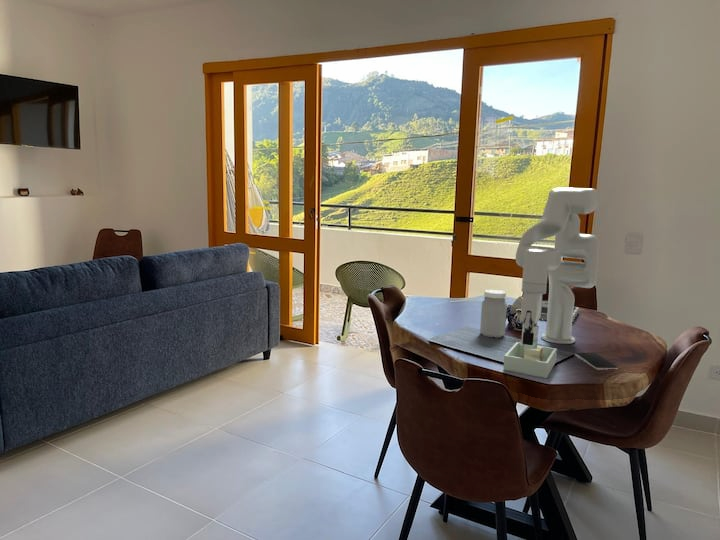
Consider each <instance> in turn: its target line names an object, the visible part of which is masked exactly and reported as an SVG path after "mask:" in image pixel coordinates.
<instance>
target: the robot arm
mask: <svg viewBox="0 0 720 540" xmlns="http://www.w3.org/2000/svg"><path fill="white" fill-rule="evenodd" d="M599 201H600V195H599V192H598V190H597V189H596V188H590V187H589V188H588V187H587V188H586V187H555V188H552V189H551V190H550V191H549V192H548V196H547V200H546V202H545V206H544V209H543V213H542V215H541V219H540V221H538V222H537V223H535V224H533V225H532V226H530V227H529V228H528V229H527V230H526V231H524V233H523V234H522V236H521V237H520V240H519V243H518V246H517V248H516V252H515V262H516V265H518V266H519V267H521V268H522V279H521V282H522V283H521V293H523V296H522V300H521V307H520V308H521V315H520V317H519V322H520V323H522V324H524V332H523V342H522V343H523V344H526V345H533V338H534V333H533V328H534V325H537V326H538V322H539V321H540V320H539V319H540V316H541V308H542V301H543V295H545V294H547V284H549V285H548V299H547V301H548V311H547V321H546V322H545V332H543V333H541V335H540V338H541V339H542V340H543V341H546V342H549V343H553V344H558V345H568V344H569V345H570V344H573V343H575V342H576V338H575V337H574V336H573V335H572V330H573V323H572V320H573V310H574V307H575V294H574V292H573V290H572V289H571V288H570V287H574V288H575V287H576V288H582V289H583V288H585V289H591V288H593V287H594V286H595V285H596V283H597V278H598V270H599V260H600V247H601V242H600V239H599V238H598V236H596V235H594V234H589V233H588V234H587V233H581V231H580V230H581V227H580V226H581V218H580V217H579V215H588V214H591V213H593V212H594V211H596V209H597V207H598V206H599V203H600V202H599ZM551 237H555V238H554V247H548V246H539V245H538V246H537V245H533V244H535V243H537V242H539V241H541V240H544V239H548V238H551ZM562 258H567V259H577V260H578V259H579V260H583V261H584V262H581V261H571V260H563V259H562ZM530 325H532V326H530Z"/></svg>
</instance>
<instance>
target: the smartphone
mask: <svg viewBox="0 0 720 540" xmlns="http://www.w3.org/2000/svg"><path fill="white" fill-rule="evenodd" d="M574 356H575V357H577V358H578V359H579V360H581V361H583V362H584V363H586V364H587V365H589V366H590V367H592V368H594V369H595V370H597V371H598V370H599V371H601V370H604V369H605V370H606V371H607V370H608V369H615V370H619V367H618V366H617V365H615V364H614V363H612V362H611V361H609V360H607V359H605V358H604V357H602V356H600V355H599V354H597V353H595V352H575V353H574ZM605 370H604V371H605Z"/></svg>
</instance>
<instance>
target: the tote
mask: <svg viewBox="0 0 720 540" xmlns="http://www.w3.org/2000/svg"><path fill="white" fill-rule="evenodd" d="M537 346H539V347H543V352H542V361H537V360H531V359H525V358H524V349H525V348H523V347H521V341H519V342H518V341H517V342H515V343H514V344H513V346H512V347H510V348H509V350H508V351H507V352H506V353H505V354H504V357H503V371H507V372H511V373H516V374H521V375H527V376H533V377H538V378H543V379H548V377H549V375H550V373H551V371H552V370H553V368H554V366H555V364H556V362H557V353H558V349H557V348H555V347H550V346H543V345H538V344H537Z"/></svg>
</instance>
